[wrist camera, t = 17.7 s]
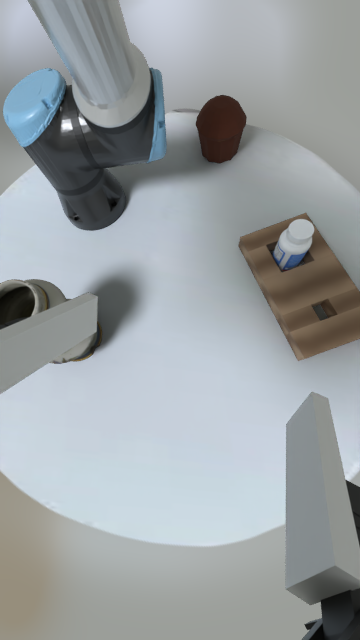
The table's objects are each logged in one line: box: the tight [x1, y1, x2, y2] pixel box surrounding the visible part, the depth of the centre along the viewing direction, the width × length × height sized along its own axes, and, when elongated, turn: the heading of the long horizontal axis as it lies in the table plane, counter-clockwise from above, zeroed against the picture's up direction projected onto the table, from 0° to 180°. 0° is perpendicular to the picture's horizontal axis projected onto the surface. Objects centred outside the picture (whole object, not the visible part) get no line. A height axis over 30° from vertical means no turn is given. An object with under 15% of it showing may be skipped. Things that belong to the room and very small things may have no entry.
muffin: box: [196, 95, 246, 163], centre depth 53 cm, size 12×11×10 cm
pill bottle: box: [272, 219, 314, 272], centre depth 42 cm, size 6×5×10 cm
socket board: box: [239, 213, 360, 361], centre depth 43 cm, size 26×14×3 cm, turn 19°
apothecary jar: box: [0, 279, 102, 364], centre depth 38 cm, size 12×12×18 cm
